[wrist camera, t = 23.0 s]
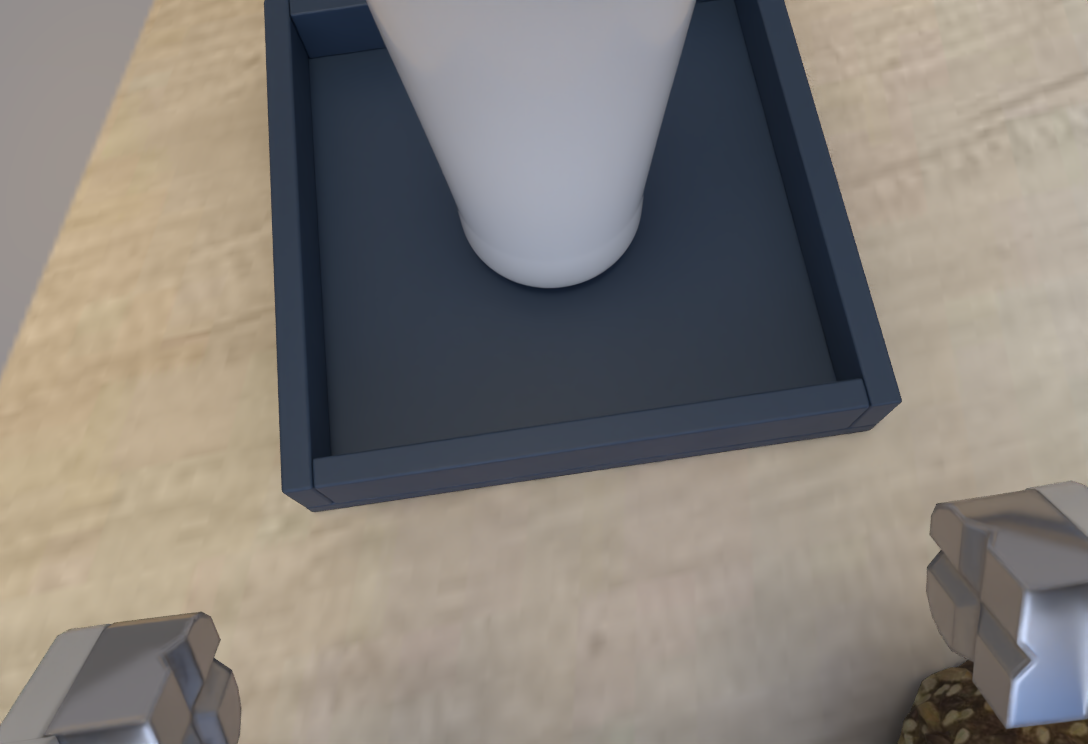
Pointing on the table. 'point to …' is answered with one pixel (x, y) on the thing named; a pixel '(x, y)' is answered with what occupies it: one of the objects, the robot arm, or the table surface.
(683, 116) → the dark blue-gray tray
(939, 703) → the bread roll
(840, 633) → the table surface
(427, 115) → the white cup
